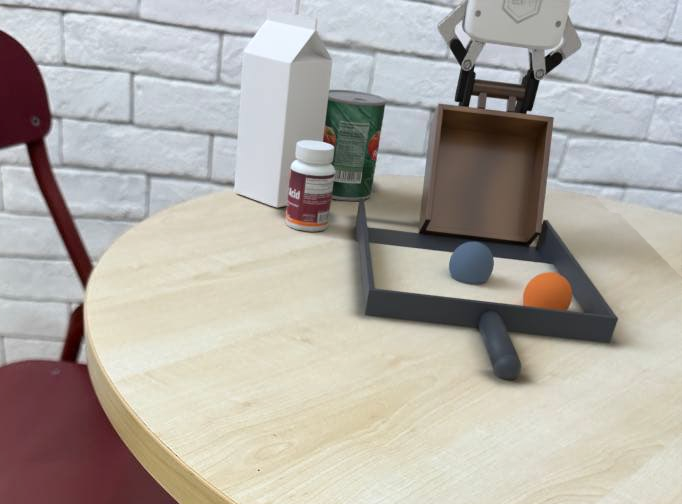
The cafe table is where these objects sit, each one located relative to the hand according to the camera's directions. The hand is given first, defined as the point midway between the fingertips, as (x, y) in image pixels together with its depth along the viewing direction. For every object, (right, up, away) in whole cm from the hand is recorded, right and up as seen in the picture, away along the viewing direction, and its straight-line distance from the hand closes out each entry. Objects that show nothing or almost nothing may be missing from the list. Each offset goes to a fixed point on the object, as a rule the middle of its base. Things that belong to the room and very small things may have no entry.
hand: (491, 112), depth 94 cm
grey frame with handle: (-5, -25, -14) cm, 29 cm away
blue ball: (-5, -21, -12) cm, 25 cm away
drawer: (-1, -6, +2) cm, 6 cm away
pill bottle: (-20, -13, +1) cm, 24 cm away
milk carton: (-24, -6, +9) cm, 26 cm away
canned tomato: (-16, -4, +14) cm, 21 cm away
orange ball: (+1, -26, -18) cm, 31 cm away
